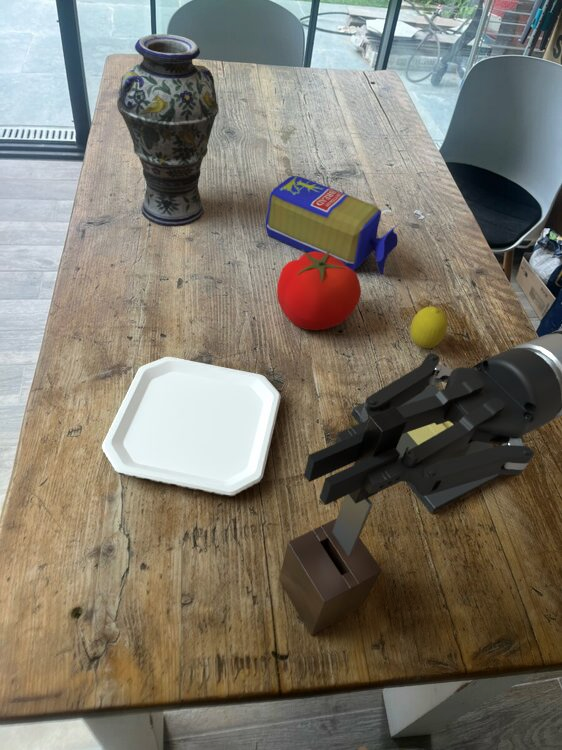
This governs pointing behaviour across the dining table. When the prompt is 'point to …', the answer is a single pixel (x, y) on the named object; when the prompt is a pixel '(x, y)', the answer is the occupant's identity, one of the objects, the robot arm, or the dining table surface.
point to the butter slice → (426, 432)
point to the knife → (357, 505)
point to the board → (449, 495)
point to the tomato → (317, 291)
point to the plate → (194, 426)
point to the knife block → (326, 577)
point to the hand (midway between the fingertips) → (317, 480)
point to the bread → (327, 223)
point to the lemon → (428, 327)
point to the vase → (169, 125)
